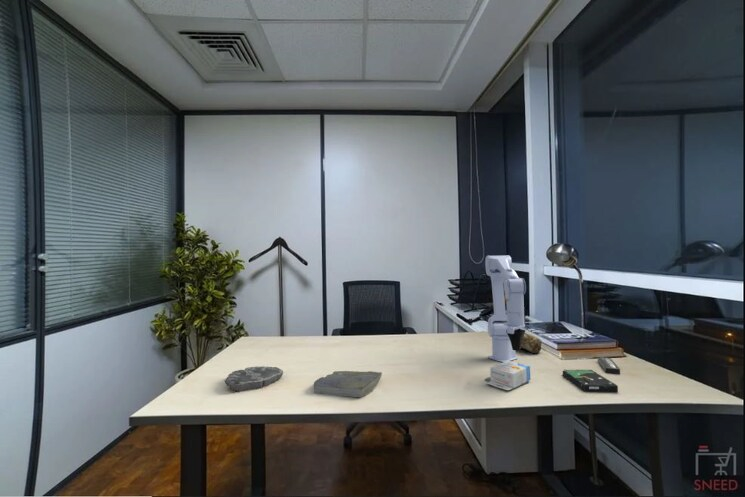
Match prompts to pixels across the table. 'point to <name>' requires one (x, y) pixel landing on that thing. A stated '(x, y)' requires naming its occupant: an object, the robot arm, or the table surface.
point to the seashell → (531, 343)
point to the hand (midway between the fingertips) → (516, 350)
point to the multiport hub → (608, 365)
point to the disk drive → (590, 381)
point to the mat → (515, 387)
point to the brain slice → (253, 378)
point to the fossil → (347, 383)
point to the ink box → (509, 375)
